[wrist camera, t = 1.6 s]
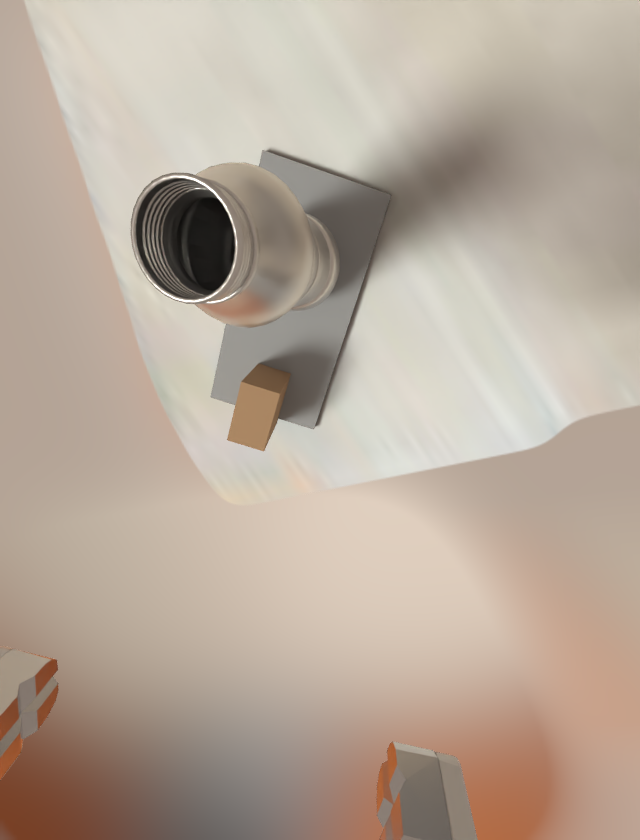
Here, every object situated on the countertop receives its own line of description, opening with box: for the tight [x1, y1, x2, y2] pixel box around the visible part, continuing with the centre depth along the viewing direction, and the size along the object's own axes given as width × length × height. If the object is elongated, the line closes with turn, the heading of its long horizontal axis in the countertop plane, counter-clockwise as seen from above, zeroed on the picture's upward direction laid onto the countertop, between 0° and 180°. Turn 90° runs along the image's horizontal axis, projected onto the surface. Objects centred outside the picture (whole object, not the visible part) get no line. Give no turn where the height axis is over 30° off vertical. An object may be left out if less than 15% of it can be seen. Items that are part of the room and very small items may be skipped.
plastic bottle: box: [131, 163, 340, 328], centre depth 21 cm, size 6×7×20 cm
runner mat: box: [211, 150, 391, 451], centre depth 29 cm, size 20×10×6 cm, turn 163°
